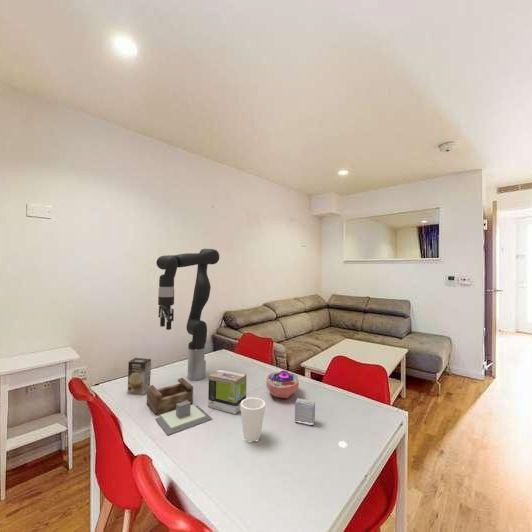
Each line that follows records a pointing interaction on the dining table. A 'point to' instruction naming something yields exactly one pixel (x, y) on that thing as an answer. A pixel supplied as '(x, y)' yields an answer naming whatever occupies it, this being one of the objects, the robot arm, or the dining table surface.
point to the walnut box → (168, 397)
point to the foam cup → (252, 417)
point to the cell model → (282, 384)
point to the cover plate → (184, 420)
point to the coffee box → (139, 376)
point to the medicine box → (305, 410)
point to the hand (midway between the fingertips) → (165, 328)
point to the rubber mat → (169, 432)
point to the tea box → (226, 390)
